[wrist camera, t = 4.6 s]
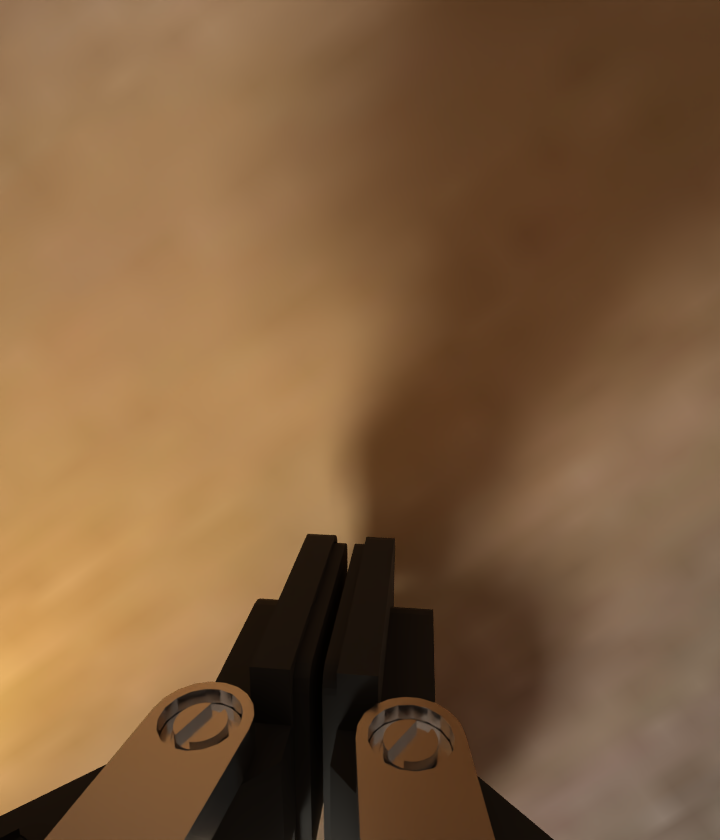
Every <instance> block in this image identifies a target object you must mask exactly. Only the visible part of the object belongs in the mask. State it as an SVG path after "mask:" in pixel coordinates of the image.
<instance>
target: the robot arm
mask: <svg viewBox="0 0 720 840" xmlns="http://www.w3.org/2000/svg"><path fill="white" fill-rule="evenodd" d="M394 562H395V538H376V537H366V541H365V544H355V545H354V549H353V553H352V557H351V561H350V565H349V569H348V573H347V544H346V543H337V537H336V535H318V534H308V535H307V536H306V538H305V541H304V543H303V545H302V548H301V550H300V552H299V554H298V557H297V559H296V561H295V563H294V566H293V568H292V570H291V573H290V575H289V577H288V579H287V582H286V584H285V586H284V589H283V591H282V593H281V595H280V598H279V600H274V599H258V600H257V601H256V603H255V604H254V606H253V608H252V610H251V612H250V614H249V616H248V618H247V620H246V622H245V624H244V626H243V628H242V630H241V632H240V634H239V636H238V638H237V640H236V642H235V644H234V646H233V648H232V650H231V652H230V654H229V656H228V658H227V660H226V662H225V664H224V666H223V668H222V670H221V672H220V674H219V676H218V678H217V680H216V682H205V683H197V684H193V685H190V686H187V687H184V688H181V689H178V690H177V691H175V692H173V693H171V694H170V695H168V696H166V697H165V698H163V699H162V700H161V701H160V702H159V703H158V704H157V705H156V706H155V707H154V708H153V709H152V710H151V711H150V713H149V714H148V715H147V716H146V717H145V719H144V720H143V721H142V722H141V723H140V725H139V726H138V727H137V728H136V729H135V731H134V732H133V733H132V734H131V735H130V737H129V738H128V739H127V740H126V741H125V743H124V744H123V745H122V746H121V748H120V749H119V750H118V751H117V752H116V754H115V755H114V756H113V757H112V758H111V760H110V761H109V762H108V763H107V764H106V765H104V766H102V767H100V768H98V769H96V770H94V771H92V772H90V773H88V774H86V775H84V776H82V777H80V778H78V779H75V780H73V781H71V782H69V783H67V784H65V785H63V786H61V787H59V788H57V789H55V790H53V791H51V792H49V793H47V794H45V795H43V796H41V797H39V798H37V799H35V800H33V801H30V802H28V803H26V804H24V805H22V806H20V807H18V808H16V809H14V810H12V811H10V812H8V813H6V814H4V815H2V816H0V840H316V839H317V834H318V829H319V823H320V818H321V813H322V807H323V803H324V840H553V839H552V838H551V837H550V836H549V835H547V834H546V833H545V832H544V831H543V830H541V829H540V828H539V827H538V826H537V825H535V824H534V823H533V822H532V821H531V820H529V819H528V818H527V817H526V816H525V815H524V814H522V813H521V812H520V811H519V810H518V809H516V808H515V807H514V806H513V805H512V804H510V803H509V802H508V801H507V800H506V799H504V798H503V797H502V796H501V795H500V794H498V793H497V792H496V791H495V790H494V789H492V788H491V787H490V786H489V785H488V784H486V783H485V782H484V781H483V780H482V779H480V778H479V777H478V776H477V773H476V770H475V766H474V763H473V759H472V755H471V752H470V748H469V745H468V741H467V738H466V734H465V732H464V730H463V728H462V726H461V724H460V722H459V721H458V720H457V719H456V718H455V717H454V716H453V715H452V713H451V712H450V711H448V710H447V709H445V708H443V707H442V706H440V705H438V704H436V703H435V679H434V632H433V610H431V609H415V608H399V607H394Z"/></svg>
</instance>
